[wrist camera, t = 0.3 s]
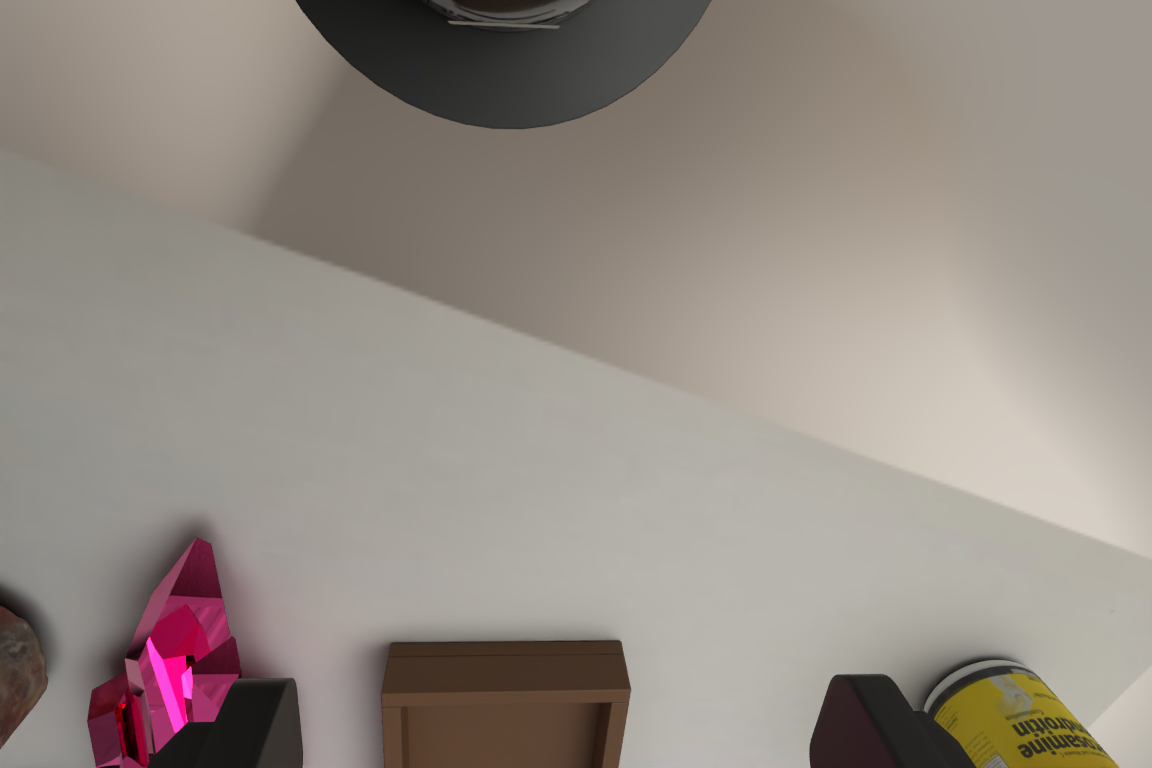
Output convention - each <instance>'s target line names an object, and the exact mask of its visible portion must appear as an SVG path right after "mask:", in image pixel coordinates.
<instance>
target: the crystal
mask: <svg viewBox="0 0 1152 768" xmlns="http://www.w3.org/2000/svg"><path fill="white" fill-rule="evenodd" d="M125 664H126V672H124V673H122V674H120V675H119V676H117V677H115V678H113V679H111V680H110V681H108V682H106V683H104V684H102V685H101V686H99V687H97V688H95V689H93V690H92V694H91V701H90V707H89V713H88V720H87V722H88V727H89V732H90V738H91V743H92V748H93V753H94V758H95V763H96V768H147V766H148V764H149V762H150V760H151V758H152V757H153V756H154V755H155V754H156V753H157V752H158V751H159V750H160V749H161V748H162V747H163V746H164V745H165V744H166V743H167V742H168V741H169V740H170V739H171V738H172V737H173V736H174V735H175V734H176V733H177V732H178V731H179V730H180V729H181V728H182V727H183V726H184V725H185V724H186V723H187V722H214V721H215V719H216V717H217V715H218V712H219V710H220V708H221V706H222V704H223V701H224V699H225V697H226V695H227V693H228V691H229V689H230V687H231V685H232V684H233V683H234V681H235V680H237V679H242V678H241V667H240V662H239V656H238V651H237V645H236V640H235V638H234V637H233V636H232V637H231V638H230V633H229V628H228V624H227V619H226V614H225V609H224V604H223V599H222V595H221V590H220V585H219V580H218V575H217V570H216V566H215V561H214V556H213V551H212V546H211V543H208V542H206V541H203V540H201V539H198V538H196V539H195V540H194V541H193V543H192V544H191V545H190V546H189V548H188V549H187V550H186V551H185V553H184V554H183V555H182V556H181V558H180V559H179V560H178V561H177V563H176V564H175V565H174V567H173V568H172V569H171V570H170V572H169V573H168V574H167V575H166V577H165V578H164V579H163V580H162V582H161V583H160V584H159V585H158V587H157V588H156V589H155V590H154V592H153V593H152V595H151V597H150V599H149V602H148V604H147V607H146V609H145V611H144V614H143V616H142V618H141V621H140V623H139V625H138V628H137V630H136V633H135V635H134V637H133V640H132V642H131V644H130V647H129V649H128V651H127V654H126V656H125Z"/></svg>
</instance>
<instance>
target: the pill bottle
mask: <svg viewBox="0 0 1152 768" xmlns="http://www.w3.org/2000/svg"><path fill="white" fill-rule="evenodd" d="M924 711H925V712H926V713H927V714H928V715H930V716H931V717H932V718H933V719H934V720H935V721H936V722H937V723H939V724H940V725H941V726H942V727H943V728H944V729H945V730H946V731H947V732H949V733H950V734H951V735H952V736H953V737H954V738H955V739H956V740H958V741H959V743H960V744H961V746H962V747H963V749H964V750H965V752H966V753H967V754H968V756H969V757H970V759H971V760H972V762H973V763H974V765H975V766H976V767H977V768H1119V766H1118V765H1117V764H1116V763H1115V762H1114V761H1113V760H1112V759H1111V757H1110V756H1109V755H1108V754H1107V753H1106V752H1105V751H1104V750H1103V748H1102V747H1101V746H1100V745H1099V744H1098V743H1097V742H1096V741H1095V739H1094V738H1093V737H1092V736H1091V735H1090V734H1089V733H1088V731H1087V730H1086V729H1085V728H1084V727H1083V726H1082V725H1081V724H1080V723H1079V721H1078V720H1077V719H1076V718H1075V717H1074V716H1073V715H1072V714H1071V712H1070V711H1069V710H1068V709H1067V708H1066V707H1065V706H1064V705H1063V703H1062V702H1061V701H1060V700H1059V699H1058V698H1057V696H1056V695H1055V694H1054V693H1053V692H1052V691H1051V690H1050V689H1049V688H1048V686H1047V685H1046V684H1045V683H1044V682H1043V681H1042V680H1041V679H1040V677H1038V676H1037V675H1036V674H1035V673H1034V672H1033V671H1032V670H1030V669H1029V668H1027V667H1025V666H1023V665H1021V664H1018V663H1015V662H1011V661H1006V660H989V661H983V662H978V663H974V664H971V665H968V666H966V667H964V668H961V669H959V670H957V671H956V672H954V673H952V674H951V675H949V676H948V677H946V678H945V679H944V680H943V681H942V682H940V683H939V684H938V685H937V686H936V688H935V689H934V690H933V691H932V693H931V694H930V696H929V697H928V699H927V701H926V704H925V707H924Z"/></svg>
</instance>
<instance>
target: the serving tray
mask: <svg viewBox="0 0 1152 768" xmlns="http://www.w3.org/2000/svg"><path fill="white" fill-rule="evenodd" d="M630 693H631V687H630V682H629V677H628V672H627V667H626V662H625V658H624V653H623V648H622V643H621V641H588V642H472V643H392V644H391V647H390V652H389V658H388V662H387V667H386V672H385V677H384V682H383V687H382V691H381V704H382V728H383V750H384V768H618V766H619V760H620V754H621V748H622V742H623V736H624V730H625V724H626V718H627V712H628V705H629V699H630Z"/></svg>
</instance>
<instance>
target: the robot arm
mask: <svg viewBox="0 0 1152 768" xmlns="http://www.w3.org/2000/svg"><path fill="white" fill-rule="evenodd" d="M420 1H421V2H423V3H424V4H425V5H427V6H428V7H430V8H431V9H433V10H435V11H436V12H438V13H439V14H441V15H443V16H445V17H447V18H449V19H451V20H453V21H448V22H449V23H450V24H462V25H466V26H469V27H472V28H476V29H480V30H484V31H491V32H499V33H520V32H529V31H534V30H540V29H543V28H553V29H558V28H559V27H560V26H553V25H556V24H558V23H560V22H563V21H565V20H567V19H569V18H571V17H573V16H574V15H576V14H578V13H580V12H581V11H583V10H584V9H585V8H587V7H588V6H590V5H591V4H592V3H593V2H595V1H596V0H420ZM809 754H810V766H811V768H977V767H976V766H975V765H974V763H973V762H972V760H971V759H970V757H969V756H968V754H967V753H966V752H965V750H964V749H963V747H962V746H961V744H960V743H959V741H958V740H956V739H955V738H954V737H953V736H952V735H951V734H950V733H949V732H947V731H946V730H945V729H944V728H943V727H942V726H941V725H940V724H939V723H937V722H936V721H935V720H934V719H933V718H932V717H931V716H930V715H928V714H927V713H926V712H925V711H913V709H912V708H911V706H910V705H909V703H908V702H907V700H906V699H905V697H904V696H903V694H902V693H901V691H900V690H899V688H898V687H897V685H896V684H895V682H894V681H893V680H892V679H891V678H890V677H888V676H886V675H884V674H844V675H835V676H834V677H833V678H832V680H831V681H830V684H829V687H828V690H827V693H826V696H825V699H824V702H823V705H822V708H821V711H820V714H819V717H818V720H817V723H816V726H815V729H814V732H813V735H812V738H811V742H810V753H809ZM302 767H303V746H302V736H301V726H300V716H299V706H298V696H297V687H296V682H295V680H294V679H293V678H264V679H237V680H235V681H234V683H233V684H232V685H231V687H230V689H229V691H228V693H227V695H226V697H225V699H224V701H223V704H222V706H221V708H220V710H219V712H218V715H217V717H216V719H215V721H214V722H187V723H186V724H185V725H184V726H183V727H182V728H181V729H180V730H179V731H178V732H177V733H176V734H175V735H174V736H173V737H172V738H171V739H170V740H169V741H168V742H167V743H166V744H165V745H164V746H163V747H162V748H161V749H160V750H159V751H158V752H157V753H156V754H155V755H154V756H153V757H152V758H151V760H150V762H149V764H148V766H147V768H302Z"/></svg>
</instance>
